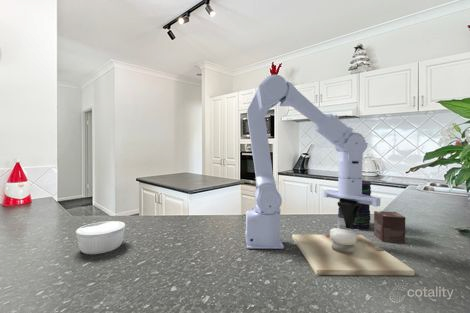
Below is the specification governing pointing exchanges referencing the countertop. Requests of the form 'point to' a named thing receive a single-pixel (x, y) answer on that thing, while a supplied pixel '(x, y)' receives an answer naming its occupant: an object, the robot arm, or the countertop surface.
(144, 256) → the countertop surface
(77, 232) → the ramekin
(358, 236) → the post board
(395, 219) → the box
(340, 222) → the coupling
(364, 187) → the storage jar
